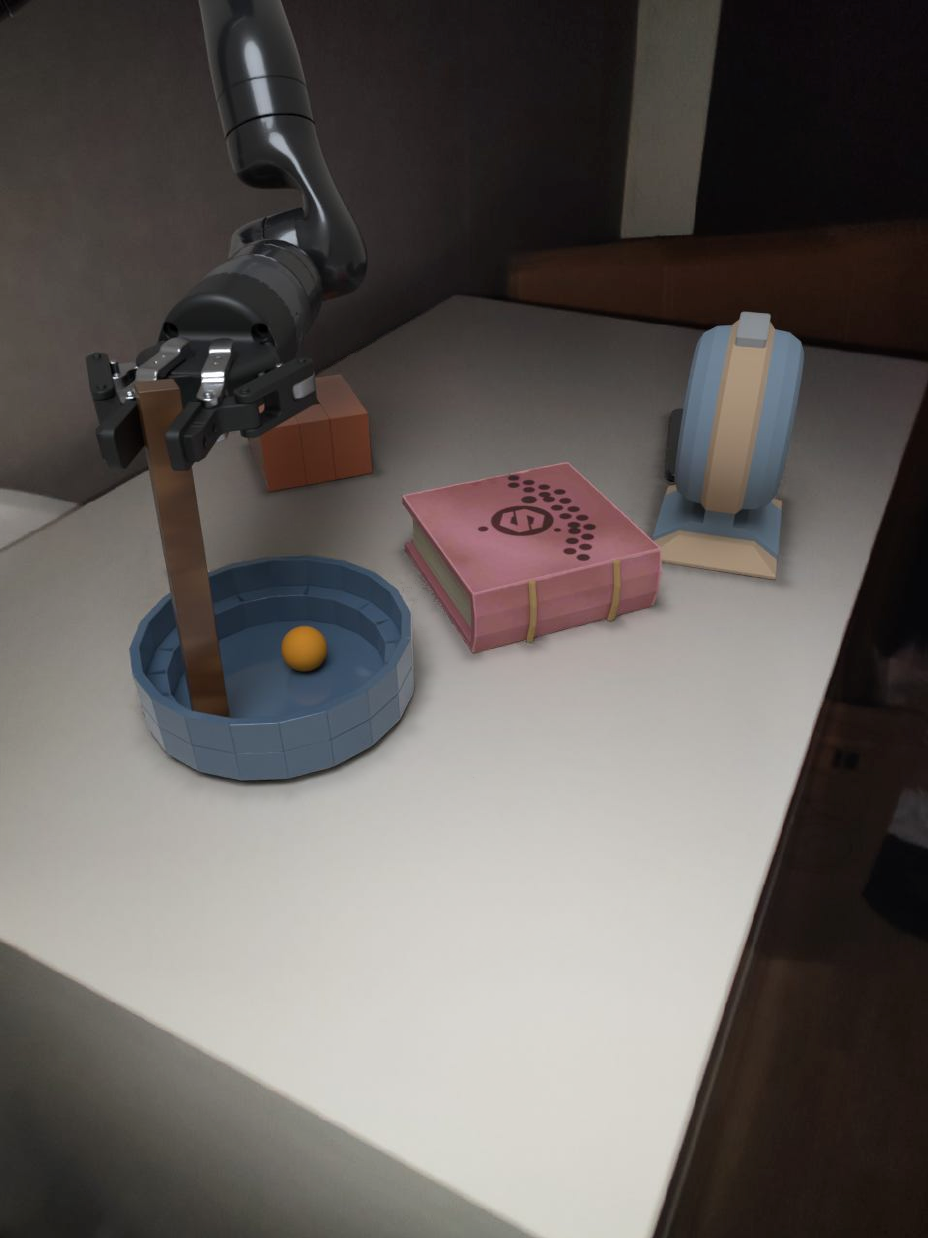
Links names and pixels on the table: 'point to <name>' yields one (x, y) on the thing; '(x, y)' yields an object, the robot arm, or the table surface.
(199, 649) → the stick
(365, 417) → the holder
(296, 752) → the bowl
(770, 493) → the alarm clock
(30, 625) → the table surface
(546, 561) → the book
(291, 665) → the ball
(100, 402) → the robot arm
